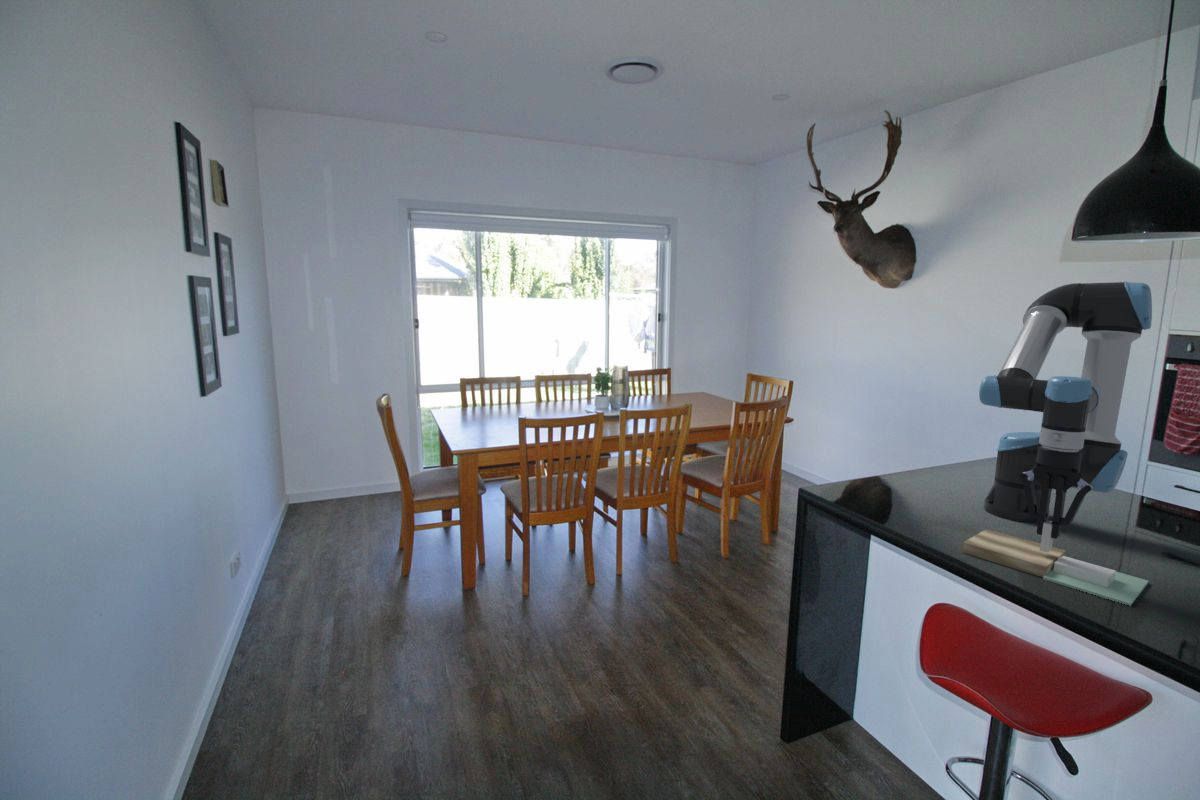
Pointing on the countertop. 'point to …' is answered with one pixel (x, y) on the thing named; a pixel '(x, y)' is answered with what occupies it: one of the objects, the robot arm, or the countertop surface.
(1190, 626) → the countertop surface
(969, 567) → the countertop surface
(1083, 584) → the mat
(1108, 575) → the white rectangular block
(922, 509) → the countertop surface
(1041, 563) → the wooden board
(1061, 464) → the robot arm
